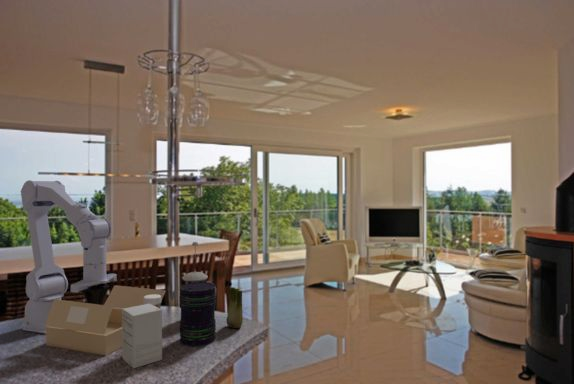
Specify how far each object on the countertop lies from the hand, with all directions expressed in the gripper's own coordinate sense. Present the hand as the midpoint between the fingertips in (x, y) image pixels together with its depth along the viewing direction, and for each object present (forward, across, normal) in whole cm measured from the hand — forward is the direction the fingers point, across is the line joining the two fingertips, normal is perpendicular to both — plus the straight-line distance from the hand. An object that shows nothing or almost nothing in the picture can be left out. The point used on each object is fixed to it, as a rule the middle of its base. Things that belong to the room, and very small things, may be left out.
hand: (95, 312), depth 113 cm
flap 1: (-1, -6, 0) cm, 6 cm away
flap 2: (0, +16, 0) cm, 16 cm away
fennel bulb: (+8, +23, -31) cm, 40 cm away
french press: (+8, +25, -17) cm, 32 cm away
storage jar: (+8, +10, -26) cm, 29 cm away
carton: (+8, +3, 0) cm, 9 cm away
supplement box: (+8, -6, -20) cm, 22 cm away
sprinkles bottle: (+8, +2, -17) cm, 19 cm away
